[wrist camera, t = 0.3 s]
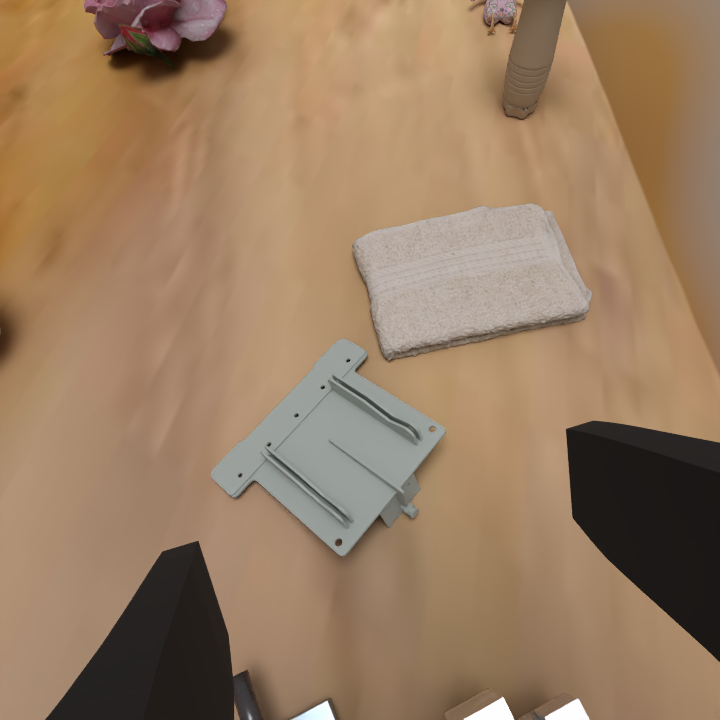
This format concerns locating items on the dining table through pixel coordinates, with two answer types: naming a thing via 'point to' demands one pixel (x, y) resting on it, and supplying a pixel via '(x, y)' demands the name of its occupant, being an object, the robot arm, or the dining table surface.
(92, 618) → the dining table surface
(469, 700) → the notched block
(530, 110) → the handle
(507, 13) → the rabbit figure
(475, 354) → the dining table surface
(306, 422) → the metal bracket
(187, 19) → the flower
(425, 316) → the washcloth
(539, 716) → the vise
